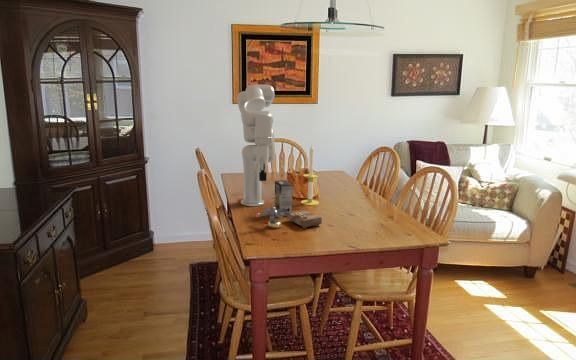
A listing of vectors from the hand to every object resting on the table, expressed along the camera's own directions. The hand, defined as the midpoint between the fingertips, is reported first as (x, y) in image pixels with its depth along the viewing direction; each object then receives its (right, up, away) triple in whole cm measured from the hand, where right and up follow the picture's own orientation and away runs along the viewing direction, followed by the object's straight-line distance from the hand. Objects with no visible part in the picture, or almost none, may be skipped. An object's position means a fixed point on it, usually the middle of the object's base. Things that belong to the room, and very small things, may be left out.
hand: (262, 180), depth 211 cm
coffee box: (+9, -17, +21) cm, 28 cm away
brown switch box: (+19, -20, +7) cm, 29 cm away
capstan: (+4, -21, +1) cm, 22 cm away
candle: (+24, -12, +40) cm, 48 cm away
